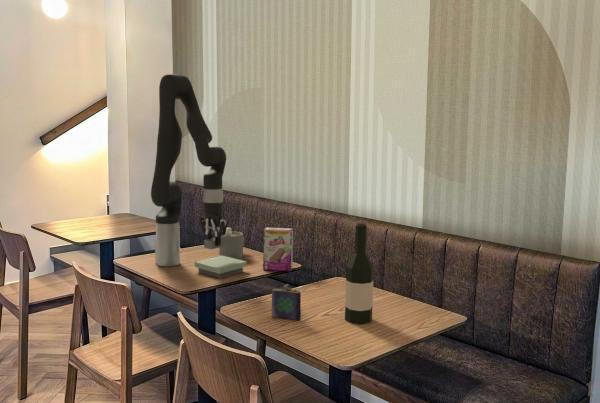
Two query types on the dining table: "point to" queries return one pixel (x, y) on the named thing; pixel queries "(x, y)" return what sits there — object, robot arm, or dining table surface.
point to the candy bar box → (278, 249)
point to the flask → (286, 304)
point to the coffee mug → (234, 247)
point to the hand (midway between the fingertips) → (213, 244)
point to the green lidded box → (220, 266)
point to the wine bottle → (359, 281)
